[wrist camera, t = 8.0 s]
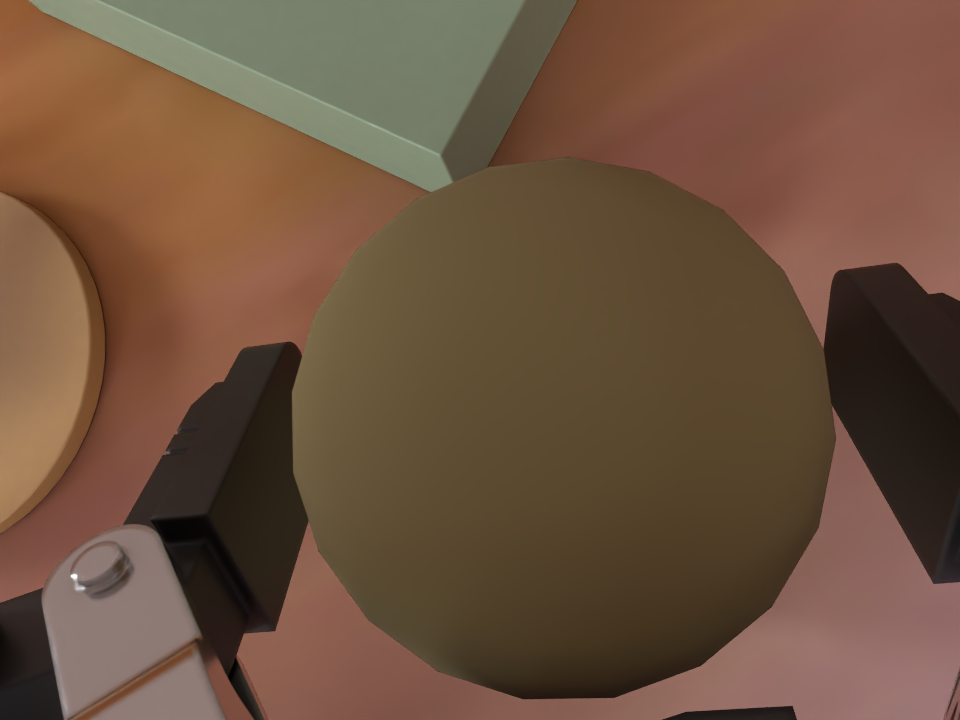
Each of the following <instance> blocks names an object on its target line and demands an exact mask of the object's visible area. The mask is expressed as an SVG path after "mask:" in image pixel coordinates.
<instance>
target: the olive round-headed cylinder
mask: <svg viewBox="0 0 960 720" xmlns="http://www.w3.org/2000/svg"><path fill="white" fill-rule="evenodd" d="M292 430H293V474H294V477H295V480H296V483H297V486H298V489H299V492H300V495H301V498H302V501H303V504H304V507H305V510H306V513H307V517H308V520H309V523H310V526H311V529H312V532H313V535H314V538H315V541H316V544H317V547H318V550H319V552H320V554H321V555H322V556H323V558H324V559H325V561H326V562H327V563H328V565H329V566H330V567H331V569H332V570H333V572H334V573H335V574H336V576H337V577H338V579H339V580H340V581H341V583H342V584H343V586H344V587H345V588H346V590H347V591H348V593H349V594H350V595H351V597H352V598H353V599H354V601H355V602H356V604H357V605H358V606H359V608H360V609H361V611H362V612H363V613H364V615H365V616H366V618H367V619H368V620H369V621H370V622H372V623H373V624H374V625H376V626H377V627H378V628H380V629H381V630H382V631H384V632H385V633H386V634H388V635H389V636H391V637H392V638H393V639H395V640H396V641H397V642H399V643H400V644H401V645H403V646H404V647H406V648H407V649H408V650H410V651H411V652H412V653H414V654H415V655H416V656H418V657H419V658H420V659H422V660H423V661H425V662H426V663H427V664H429V665H430V666H431V667H433V668H434V669H435V670H437V671H438V672H441V673H444V674H447V675H450V676H453V677H456V678H459V679H462V680H466V681H469V682H472V683H475V684H478V685H481V686H484V687H487V688H490V689H493V690H496V691H500V692H503V693H506V694H509V695H512V696H515V697H518V698H521V699H567V698H615V697H617V696H620V695H623V694H626V693H628V692H631V691H634V690H637V689H639V688H642V687H645V686H647V685H650V684H653V683H656V682H658V681H661V680H664V679H666V678H669V677H672V676H675V675H677V674H680V673H683V672H686V671H688V670H691V669H694V668H696V667H699V666H701V665H702V664H703V663H705V662H706V661H707V660H708V659H709V658H711V657H712V656H713V655H714V654H716V653H717V652H718V651H719V650H720V649H722V648H723V647H724V646H725V645H726V644H728V643H729V642H730V641H731V640H732V639H734V638H735V637H736V636H737V635H738V634H740V633H741V632H742V631H743V630H744V629H746V628H747V627H748V626H749V625H750V624H752V623H753V622H754V621H755V620H756V619H758V618H759V617H760V616H761V615H762V614H764V613H765V612H766V611H767V610H769V609H770V608H771V607H772V605H773V604H774V602H775V600H776V599H777V597H778V595H779V593H780V592H781V590H782V588H783V587H784V585H785V583H786V582H787V580H788V578H789V577H790V575H791V573H792V572H793V570H794V568H795V567H796V565H797V563H798V561H799V560H800V558H801V556H802V555H803V553H804V551H805V550H806V548H807V546H808V545H809V543H810V541H811V540H812V538H813V536H814V535H815V533H816V531H817V529H818V528H819V522H820V517H821V512H822V507H823V502H824V497H825V492H826V487H827V482H828V477H829V472H830V467H831V462H832V457H833V452H834V447H835V442H836V434H835V427H834V420H833V413H832V405H831V398H830V391H829V384H828V377H827V370H826V363H825V355H824V349H823V347H822V345H821V343H820V341H819V339H818V337H817V335H816V333H815V331H814V329H813V327H812V325H811V323H810V321H809V319H808V317H807V315H806V313H805V311H804V309H803V307H802V305H801V303H800V301H799V299H798V297H797V296H796V294H795V292H794V290H793V288H792V286H791V284H790V282H789V280H788V278H787V276H786V274H785V272H784V270H783V269H782V268H781V267H780V266H779V265H778V264H777V263H776V262H775V261H774V260H773V259H772V258H771V257H770V256H769V255H768V254H767V253H766V252H765V251H764V250H763V249H762V248H761V247H760V246H759V245H758V244H757V243H756V242H755V241H754V240H753V239H752V238H751V237H750V236H749V235H748V234H747V233H746V232H745V231H744V230H743V229H742V228H741V227H740V226H739V225H738V224H737V223H736V222H735V221H734V220H733V219H732V218H731V217H730V216H729V215H728V214H727V213H726V212H725V211H724V210H722V209H720V208H719V207H717V206H715V205H713V204H711V203H709V202H707V201H705V200H703V199H701V198H699V197H697V196H695V195H693V194H691V193H690V192H688V191H686V190H684V189H682V188H680V187H678V186H676V185H674V184H672V183H670V182H668V181H666V180H664V179H662V178H661V177H659V176H657V175H655V174H653V173H651V172H649V171H643V170H637V169H632V168H626V167H621V166H615V165H609V164H604V163H598V162H592V161H587V160H581V159H576V158H570V157H566V158H558V159H550V160H542V161H534V162H525V163H517V164H509V165H501V166H492V167H488V168H485V169H483V170H481V171H478V172H476V173H474V174H472V175H469V176H467V177H465V178H462V179H460V180H458V181H456V182H453V183H451V184H449V185H447V186H444V187H442V188H440V189H437V190H435V191H433V192H431V193H428V194H426V195H424V196H422V197H419V198H417V199H416V200H414V201H413V202H412V203H411V204H410V205H408V206H407V207H406V208H405V209H404V210H403V211H401V212H400V213H399V214H398V215H397V216H396V217H394V218H393V219H392V220H391V221H390V222H389V223H387V224H386V225H385V226H384V227H383V228H381V229H380V230H379V231H378V232H377V233H376V234H374V235H373V236H372V237H371V238H370V239H369V240H367V241H366V242H365V243H364V244H363V245H362V246H360V247H359V248H358V249H357V250H356V251H355V253H354V254H353V256H352V258H351V259H350V261H349V262H348V264H347V265H346V267H345V268H344V270H343V271H342V273H341V275H340V276H339V278H338V279H337V281H336V282H335V284H334V285H333V287H332V289H331V290H330V292H329V293H328V295H327V296H326V298H325V299H324V301H323V302H322V304H321V306H320V307H319V309H318V310H317V312H316V313H315V315H314V317H313V321H312V324H311V328H310V331H309V334H308V338H307V341H306V345H305V348H304V352H303V355H302V359H301V362H300V366H299V369H298V373H297V376H296V380H295V383H294V387H293V390H292Z"/></svg>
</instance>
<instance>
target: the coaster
mask: <svg viewBox="0 0 960 720" xmlns="http://www.w3.org/2000/svg"><path fill="white" fill-rule="evenodd" d="M104 362H105V329H104V321H103V314H102V307H101V304H100V300H99V296H98V292H97V289H96V285H95V283H94V281H93V278H92V276H91V274H90V271H89V269H88V266H87V264H86V263H85V261H84V259H83V258H82V256H81V255H80V253H79V251H78V250H77V248H76V246H75V245H74V244H73V243H72V241H71V240H70V239H69V238H68V236H67V235H66V234H65V233H64V232H63V230H62V229H61V228H59V227H58V226H57V225H56V224H55V223H54V222H53V221H52V220H51V219H49V218H48V217H47V216H46V215H44V214H43V213H41V212H40V211H38V210H37V209H35V208H34V207H32V206H30V205H29V204H27V203H25V202H23V201H20V200H18V199H16V198H14V197H12V196H10V195H7V194H5V193H3V192H1V191H0V533H2V532H4V531H5V530H7V529H8V528H10V527H11V526H12V525H14V524H15V523H16V522H18V521H19V520H20V519H22V518H23V517H24V516H26V515H27V514H28V513H29V512H30V511H31V510H32V509H33V508H34V507H35V506H36V505H37V504H38V503H39V502H40V501H42V500H43V499H44V498H45V497H46V495H47V494H48V493H49V492H50V491H51V489H52V488H53V487H54V486H55V485H56V483H57V482H58V481H59V480H60V478H61V477H62V476H63V474H64V473H65V471H66V470H67V468H68V466H69V465H70V463H71V462H72V460H73V459H74V457H75V456H76V454H77V452H78V450H79V448H80V446H81V444H82V442H83V440H84V438H85V436H86V434H87V432H88V429H89V426H90V423H91V421H92V418H93V415H94V412H95V409H96V407H97V402H98V398H99V394H100V389H101V385H102V380H103V371H104Z"/></svg>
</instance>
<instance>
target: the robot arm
mask: <svg viewBox="0 0 960 720" xmlns="http://www.w3.org/2000/svg"><path fill="white" fill-rule="evenodd" d="M824 355H825V363H826V370H827V377H828V384H829V391H830V398H831V404H832V406H833V407H834V409H835V411H836V413H837V415H838V416H839V418H840V420H841V422H842V423H843V425H844V427H845V429H846V430H847V432H848V434H849V436H850V437H851V439H852V441H853V443H854V444H855V446H856V448H857V450H858V451H859V453H860V455H861V457H862V459H863V460H864V462H865V464H866V466H867V467H868V469H869V471H870V473H871V474H872V476H873V478H874V480H875V481H876V483H877V485H878V487H879V488H880V490H881V492H882V494H883V495H884V497H885V499H886V501H887V503H888V504H889V506H890V508H891V510H892V511H893V513H894V515H895V517H896V518H897V520H898V522H899V524H900V525H901V527H902V529H903V531H904V532H905V534H906V536H907V538H908V540H909V541H910V543H911V545H912V547H913V548H914V550H915V552H916V554H917V555H918V557H919V559H920V561H921V562H922V564H923V566H924V568H925V569H926V571H927V573H928V575H929V576H930V578H931V580H932V582H933V584H940V583H953V582H960V301H958V300H956V299H954V298H952V297H950V296H948V295H946V294H944V293H936V294H927V292H926V291H925V290H924V289H923V288H922V287H921V286H920V285H919V284H918V283H917V282H916V280H915V279H914V278H913V277H912V276H911V275H910V274H909V273H908V272H907V271H906V270H905V269H904V267H902V266H901V265H900V264H898V263H891V264H883V265H875V266H868V267H860V268H853V269H845V270H839V271H838V272H836V274H835V275H834V278H833V280H832V285H831V292H830V300H829V308H828V317H827V325H826V333H825V342H824ZM301 359H302V355H301V352H300V350H299V349H298V347H297V346H296V345H295V344H294V343H292V342H283V343H276V344H268V345H261V346H253V347H246V348H243V349H242V350H241V351H240V353H239V355H238V356H237V358H236V360H235V362H234V364H233V366H232V368H231V369H230V371H229V373H228V375H227V377H226V379H225V381H224V382H218V383H215V384H214V385H213V386H212V387H211V388H210V389H208V390H207V391H206V392H205V393H204V394H203V395H202V396H201V397H200V398H199V399H198V400H197V401H196V402H194V403H193V404H192V405H191V407H190V409H189V410H188V412H187V414H186V416H185V417H184V419H183V421H182V423H181V424H180V426H179V428H178V434H176V435H174V437H173V438H172V440H171V442H170V444H169V445H168V447H167V449H166V455H163V456H162V458H161V459H160V461H159V463H158V465H157V466H156V468H155V470H154V471H153V473H152V475H151V477H150V478H149V480H148V482H147V484H146V485H145V487H144V489H143V491H142V492H141V494H140V496H139V498H138V499H137V501H136V503H135V505H134V506H133V508H132V510H131V512H130V513H129V515H128V517H127V519H126V520H125V522H124V524H123V525H121V526H117V527H113V528H110V529H108V530H105V531H102V532H100V533H98V534H96V535H94V536H92V537H90V538H89V539H87V540H85V541H84V542H82V543H81V544H79V545H78V546H77V547H75V548H74V549H73V550H72V551H70V552H69V553H68V554H67V555H66V556H65V557H64V558H63V559H62V560H61V561H60V562H59V563H58V564H57V565H56V567H55V568H54V569H53V571H52V572H51V574H50V575H49V577H48V579H47V580H46V583H45V585H44V588H41V589H39V590H36V591H33V592H30V593H27V594H24V595H22V596H19V597H16V598H13V599H10V600H7V601H5V602H2V603H0V720H269V719H268V717H267V714H266V712H265V710H264V708H263V706H262V704H261V702H260V699H259V697H258V695H257V693H256V691H255V689H254V686H253V684H252V682H251V680H250V678H249V676H248V674H247V671H246V669H245V667H244V665H243V663H242V662H241V660H240V658H239V657H238V655H237V652H238V649H239V646H240V643H241V640H242V637H243V634H244V633H256V632H269V631H275V630H276V626H277V623H278V620H279V616H280V613H281V610H282V607H283V603H284V600H285V597H286V593H287V590H288V587H289V583H290V580H291V577H292V573H293V570H294V567H295V563H296V560H297V557H298V553H299V550H300V547H301V544H302V540H303V537H304V534H305V530H306V527H307V524H308V517H307V513H306V510H305V507H304V504H303V501H302V498H301V495H300V492H299V489H298V486H297V483H296V480H295V477H294V474H293V430H292V390H293V387H294V383H295V380H296V376H297V373H298V369H299V366H300V362H301ZM663 720H797V718H796V715H795V712H794V709H793V706H784V707H766V708H748V709H729V710H711V711H693V712H684V713H681V714H678V715H675V716H672V717H669V718H666V719H663ZM943 720H960V667H959V670H958V673H957V677H956V680H955V683H954V686H953V689H952V693H951V696H950V699H949V702H948V705H947V708H946V712H945V715H944V718H943Z"/></svg>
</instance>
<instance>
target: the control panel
mask: <svg viewBox="0 0 960 720" xmlns="http://www.w3.org/2000/svg"><path fill="white" fill-rule="evenodd" d="M29 1H30V2H31V3H32V4H34V5H35V6H36V7H37V8H38V9H40V10H41V11H42V12H44V13H46V14H49V15H51V16H53V17H55V18H57V19H59V20H62V21H64V22H66V23H68V24H70V25H72V26H74V27H77V28H79V29H81V30H83V31H85V32H87V33H89V34H92V35H94V36H96V37H98V38H100V39H102V40H105V41H107V42H109V43H111V44H113V45H115V46H117V47H120V48H122V49H124V50H126V51H128V52H130V53H133V54H135V55H137V56H139V57H141V58H143V59H145V60H148V61H150V62H152V63H154V64H156V65H158V66H161V67H163V68H165V69H167V70H169V71H171V72H173V73H176V74H178V75H180V76H182V77H184V78H186V79H188V80H191V81H193V82H195V83H197V84H199V85H201V86H204V87H206V88H208V89H210V90H212V91H214V92H216V93H219V94H221V95H223V96H225V97H227V98H229V99H232V100H234V101H236V102H238V103H240V104H242V105H244V106H247V107H249V108H251V109H253V110H255V111H257V112H260V113H262V114H264V115H266V116H268V117H270V118H272V119H275V120H277V121H279V122H281V123H283V124H285V125H287V126H290V127H292V128H294V129H296V130H298V131H300V132H303V133H305V134H307V135H309V136H311V137H313V138H315V139H318V140H320V141H322V142H324V143H326V144H328V145H331V146H333V147H335V148H337V149H339V150H341V151H343V152H346V153H348V154H350V155H352V156H354V157H356V158H359V159H361V160H363V161H365V162H367V163H369V164H371V165H374V166H376V167H378V168H380V169H382V170H384V171H386V172H389V173H391V174H393V175H395V176H397V177H399V178H402V179H404V180H406V181H408V182H410V183H412V184H414V185H417V186H419V187H421V188H423V189H425V190H427V191H430V192H433V191H435V190H437V189H440V188H442V187H444V186H447V185H449V184H451V183H453V182H456V181H458V180H460V179H462V178H465V177H467V176H469V175H472V174H474V173H476V172H478V171H481V170H483V169H485V168H487V167H488V165H489V163H490V161H491V160H492V158H493V156H494V154H495V152H496V150H497V148H498V147H499V145H500V143H501V141H502V139H503V137H504V136H505V134H506V132H507V130H508V128H509V126H510V124H511V123H512V121H513V119H514V117H515V115H516V113H517V111H518V110H519V108H520V106H521V104H522V102H523V100H524V98H525V97H526V95H527V93H528V91H529V89H530V87H531V85H532V84H533V82H534V80H535V78H536V76H537V74H538V73H539V71H540V69H541V67H542V65H543V63H544V61H545V60H546V58H547V56H548V54H549V52H550V50H551V48H552V47H553V45H554V43H555V41H556V39H557V37H558V35H559V34H560V32H561V30H562V28H563V26H564V24H565V22H566V21H567V19H568V17H569V15H570V13H571V11H572V10H573V8H574V6H575V4H576V2H577V0H29Z"/></svg>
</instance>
